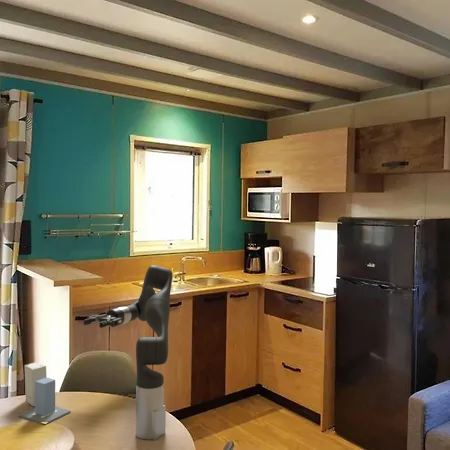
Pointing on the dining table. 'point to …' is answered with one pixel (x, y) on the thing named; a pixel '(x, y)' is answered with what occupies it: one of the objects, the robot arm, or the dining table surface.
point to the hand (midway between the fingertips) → (92, 323)
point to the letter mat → (48, 418)
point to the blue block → (44, 396)
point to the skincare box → (33, 379)
